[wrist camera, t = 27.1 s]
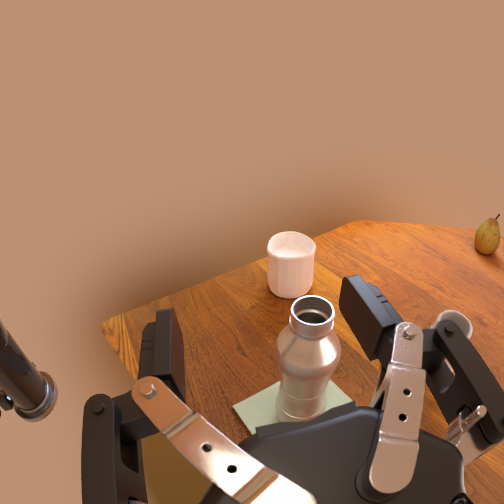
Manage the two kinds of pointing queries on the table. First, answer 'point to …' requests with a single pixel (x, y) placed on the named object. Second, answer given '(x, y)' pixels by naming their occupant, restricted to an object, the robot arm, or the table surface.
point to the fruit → (488, 236)
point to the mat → (263, 405)
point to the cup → (290, 264)
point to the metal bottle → (306, 359)
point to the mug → (459, 320)
